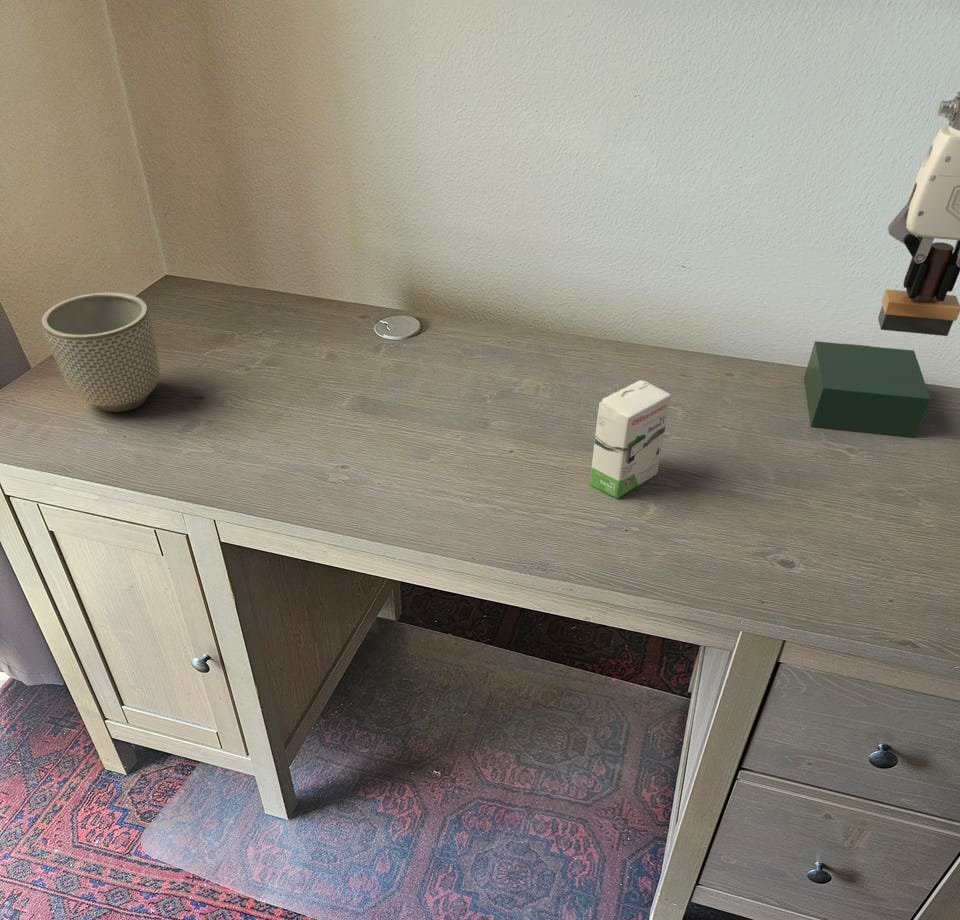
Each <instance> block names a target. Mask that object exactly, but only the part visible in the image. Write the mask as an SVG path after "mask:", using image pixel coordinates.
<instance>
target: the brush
mask: <svg viewBox="0 0 960 920" xmlns="http://www.w3.org/2000/svg"><path fill="white" fill-rule="evenodd" d="M954 247H955V246H953V245H952V244H950V243H946V242H942V241H941V242H940V241H939V242H933V243H932V245H931V248H930V250H929V252H928V255H927V257H928V258H927V261H926V262H927V264H928V268H927V270H926V273H925V276H924V278H923V281H922V284H921V286H920V289H919V292H918V295H917V297H916V298H914V299H910V298H909V297H908V294H907V290H898V289H888V288H887V289H885V290H884V293H883V296H882V299H881V304H882V305H881V308H880V311H879V314H878V317H877V320H878V325H879V328H880V331H892V332H901V333H911V334H920V335H931V336H940V337H948V335H949V333H950V331H951V328H952V327H953V326H952V325H953V324H954V322H957V320H958V318H959V315H960V302H959V299H958V297H957V295H955V294H954V295H952V294H946V297H945V299H944V301H938V300H937V299H936V297H935V296H936V293H937V291H938V288H939V285H940V283H941V280H942V278H943V275H944V273H945V270H946V267H947V265H948V262H949V260H950V257H951V255H952V253H953V250H954Z"/></svg>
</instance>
